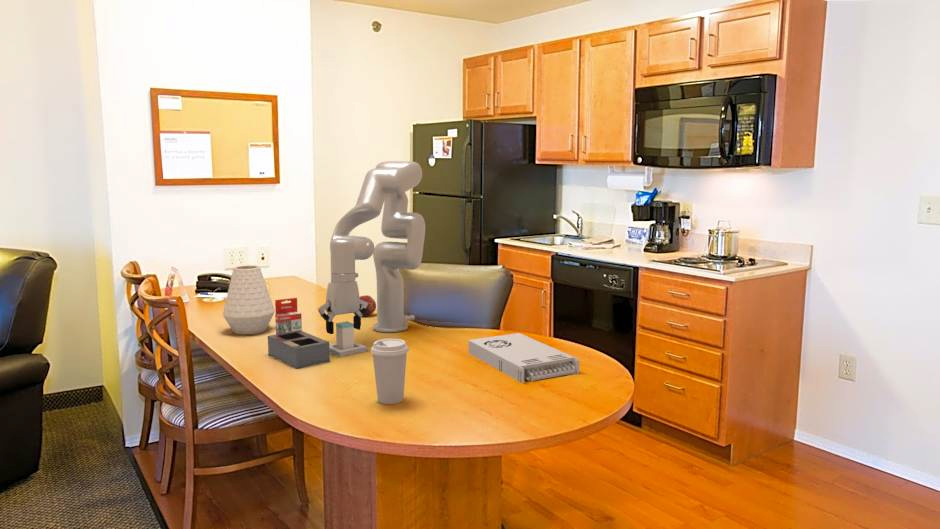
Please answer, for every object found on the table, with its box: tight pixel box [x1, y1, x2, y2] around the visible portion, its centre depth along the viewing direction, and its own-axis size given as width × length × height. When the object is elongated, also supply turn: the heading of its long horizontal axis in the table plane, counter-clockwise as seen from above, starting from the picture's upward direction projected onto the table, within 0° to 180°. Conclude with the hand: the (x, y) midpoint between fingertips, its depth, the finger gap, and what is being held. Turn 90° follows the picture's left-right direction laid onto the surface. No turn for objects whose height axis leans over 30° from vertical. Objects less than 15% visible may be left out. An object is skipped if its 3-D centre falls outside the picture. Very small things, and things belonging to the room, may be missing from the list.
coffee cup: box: [370, 338, 410, 405], centre depth 167 cm, size 10×10×15 cm
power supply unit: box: [468, 332, 580, 385], centre depth 199 cm, size 19×33×5 cm, turn 27°
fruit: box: [359, 294, 377, 317], centre depth 259 cm, size 8×8×8 cm
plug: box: [335, 320, 355, 350], centre depth 211 cm, size 4×4×9 cm
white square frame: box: [329, 341, 368, 358], centre depth 212 cm, size 10×10×2 cm
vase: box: [222, 264, 276, 336], centre depth 234 cm, size 18×17×23 cm
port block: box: [267, 330, 331, 370], centre depth 204 cm, size 11×19×6 cm, turn 41°
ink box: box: [274, 297, 303, 335], centre depth 221 cm, size 4×8×15 cm, turn 123°
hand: (343, 331), depth 210 cm, fingers open, 9 cm apart
